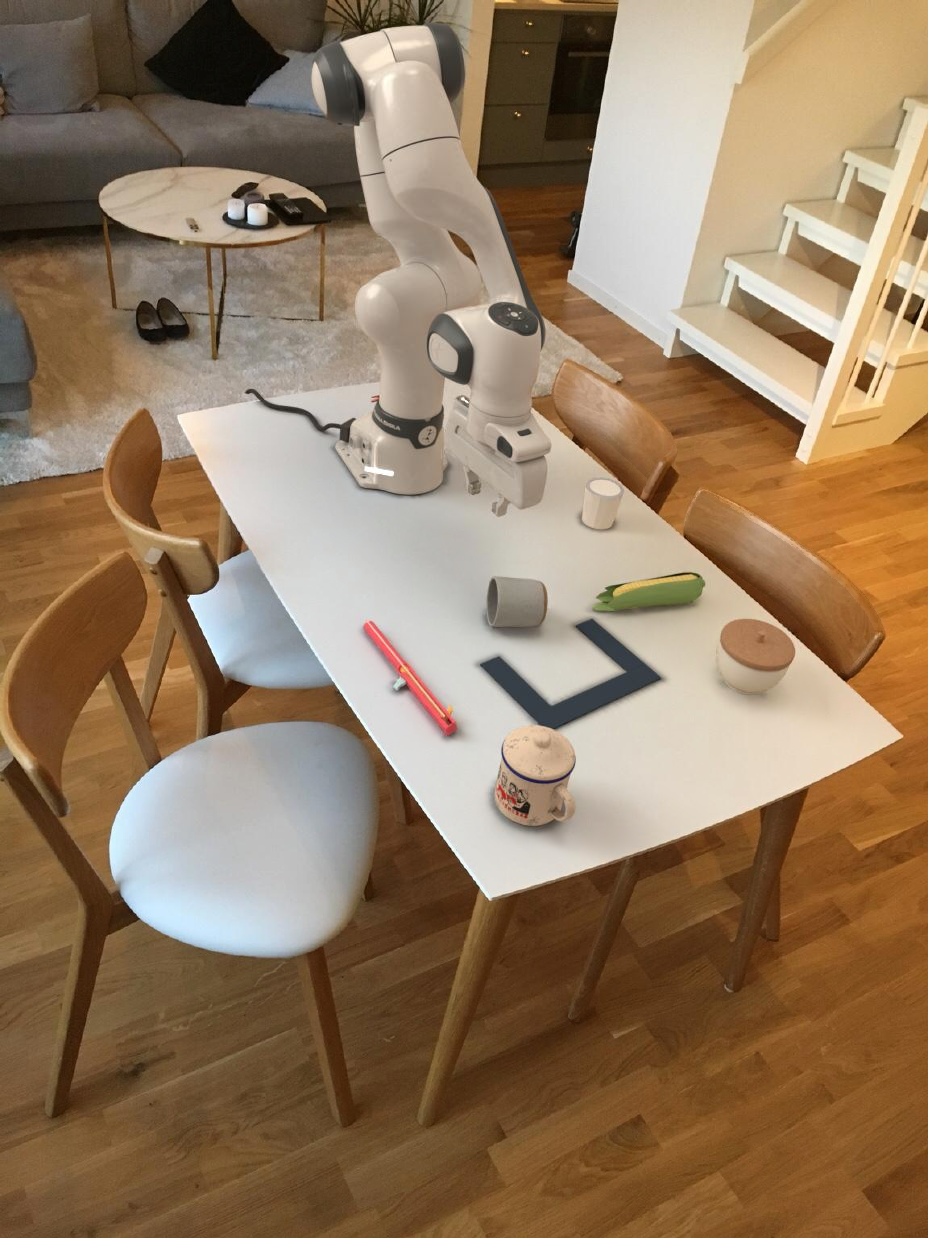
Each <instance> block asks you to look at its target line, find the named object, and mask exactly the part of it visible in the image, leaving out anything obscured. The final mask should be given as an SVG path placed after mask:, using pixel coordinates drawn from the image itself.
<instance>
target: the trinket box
mask: <svg viewBox="0 0 928 1238" xmlns="http://www.w3.org/2000/svg"><path fill="white" fill-rule="evenodd" d="M720 632H721V633H720V636H719V640H718V644H717V648H716V655H715V660H716V662H715V663H716V668H717V671H718V673H719V675H720V676H721V678H722V679H723V681H724V683H725V684H726V686H728V687H729V689H731V690H732V691H734V692H736V693H738V694H742V695H748V696H749V695H751V696H752V695H758V694H760V693H764V692H767V691H769V690H771V689H772V688H774V687H776V686H777V685H778V684H779V683H780V682H781V681H782V679H783V678H784V677H785V675H786V674H787V672H788V670H789V668H790V666H791V664H792V663H793V661H794V659H795V656H796V647H795V644H794V642H793V640H792V639H791V638H790V637H789V636H788V634H787V633H786V632H784V631H783V630H782V629H780V628H779V627H777V626H775V625H773V624H771V623H769V622H767V621H764V620H759V619H755V618H738V619H734V620H731V621H729V622H727V623H726V624H725V625H724V626H723V628H722V630H721V631H720Z"/></svg>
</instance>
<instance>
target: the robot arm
mask: <svg viewBox="0 0 928 1238" xmlns="http://www.w3.org/2000/svg"><path fill="white" fill-rule="evenodd" d="M461 44H462V43H461V41H460V38H459V37H458V34H457V33H456V31H454V30H453V29H452V27H451V26H450V25H449V24H445V23H441V22H424V23H423V25H405V26H404V25H402V26H393V27H387V28H381V29H380V30H378V31H374V32H371V33H366V34H362V35H358V36H356V37H352V38H349V39H347V40H344V41H341V42H339V40H334V41H333V42H330V43H328V44H326V45H324V46H321V47H319V48H318V49H317V50H316V52H315V55H314V56H313V58H312V64H311V65H312V68H311V77H310V78H311V79H310V80H311V81H310V82H311V90H312V93H313V97H314V100H315V102H316V104H317V106H318V107H319V109H320V111H321V113H322V114H323V116H324V118H325V119H326V120H328V121H329V122H331V123H332V124H334V125H337V126H345V127H353V132H354V133H353V135H354V144H355V153H356V160H357V167H358V172H359V176H360V183H361V187H362V191H363V192H362V193H363V196H364V202H365V205H366V206H365V207H366V211H367V215H368V220H369V225H370V227H371V228H372V230H373V231H374V232H375V233H376V234H377V235H378V236H379V237H381V238H383V239H385V240H387V241H388V242H389V243H390V245H391V246H392V248H393V250H394V251H395V254H396V256H397V258H398V261H399V265H400V266H397V267H395V268H391V269H388V270H385V271H383V272H381V273H379V274H378V275H376V276H375V277H373V278H372V279H370V280H369V281H368V282H366V283H365V284H363V285H362V286H361V287H360V288H359V290H358V291H357V293H356V295H355V298H354V315H355V319H356V322H357V324H358V326H359V329H361V331H362V332H363V334H364V335H365V336H366V337H367V338H368V339H369V340H371V341H372V342H374V344H375V346H376V348H377V352H378V355H379V362H380V363H379V364H380V373H379V375H380V377H379V394H377V395H372V396H370V399H372V400H370V403H375V405H374V407H373V410H372V411H370V412H368V413H366V414H364V415H361V416H359V417H357V418H356V417H352V418H350V419H349V420H346V421H345V422H342V423H341V424H340V423H335V422H332V423H331V422H329V423H327V424H324V425H323V426H322V425H321V424H320V423H319V422H318V420H317V419H316V417H315V416H314V415H313V414H312V413H311V412H310V411H308V410H307V409H304V408H301V407H298V406H290V405H281V404H275V403H272V402H270V401H268V400H267V399H265V398H264V397H263V395H261V394H260V392H258V391H257V390H256V389H254V388H248V389H246V390H245V391H244V394H246V395H250V394H252V395H254V396H255V398H257V399H258V401H260V403H262V404H263V405H264V406H266V407H268V408H271V409H273V410H274V409H275V410H278V411H279V410H280V411H288V412H294V413H295V412H296V413H299V414H303V415H305V416H307V417H308V418H309V419H310V421H311V422H312V424H313V426H314V427H315V428H316V429H317V430H318V431H321V432H325V431H327V430H329V429H338V430H339V440H338V441H337V442H336V443H335V451H336V452H337V453H338V455H339V456H340V457H339V458H341V460H342V461H343V463H344V464H345V466H346V467H347V468H348V470H349V472H350V473H351V474H352V476H353V478H354V479H355V481H356V483H358V485H359V486H360V487H362V488H365V489H374V490H381V491H385V492H388V493H392V494H397V495H420V494H425V493H428V492H431V491H433V490H435V489H437V488H438V487H439V486H440V485H441V484H442V483H443V481H444V471H445V470H446V469H447V467H448V459H447V458H446V457H445V450H446V451H447V452H448V453H449V454H450V455H451V456H452V457H454V458H455V459H457V460H458V461H459V462H460V463H461V464H463V468H462V470H463V473H464V476H465V481H466V486H465V491H466V492H468V493H469V494H470V495H471V496H475V495H479V494H481V492H482V486H483V483H482V482H481V481H480V479H481V480H483V482H485V483H486V484H488V486H490V487H491V488H492V489H494V490H495V491H496V492H497V494H498V496H497V497H498V498H499V500H498V501H494V502H492V504H491V513H493V514H494V515H495V516H496V517H498V518H500V517H503V516H505V515H506V514H507V511H508V506H509V505H510V504H512V505H513V506H515V507H516V508H517V509H518V510H526V509H531V508H533V507H535V506H537V505H539V504H540V503H541V502H542V500H543V499H544V494H545V489H546V483H547V479H548V478H547V476H548V475H547V474H548V461H547V459H546V455H548V454H550V453H551V450H552V441H551V439H550V437H549V436H548V435H547V433H546V432H545V431H544V430H543V429H542V427H541V426H540V424H539V422H538V421H537V419H536V417H535V415H534V413H532V409H533V399H532V397H533V396H532V392H533V389H534V386H535V384H536V381H537V380H538V374H539V368H540V362H541V353H542V350H543V349H544V345H545V341H546V337H547V335H546V334H547V332H546V331H547V330H546V324H545V320H544V318H543V315H542V313H541V310H540V309H539V308H538V307H539V306H538V305H537V303H536V302H535V300H534V298H533V297H532V294H531V293H530V290H529V288H528V285H527V282H526V280H525V277H524V274H523V271H522V269H521V266H520V263H519V260H518V257H517V255H516V252H515V249H514V246H513V243H512V241H511V238H510V235H509V232H508V230H507V227H506V224H505V222H504V219H503V215H502V213H501V211H500V208H499V207H498V204H497V202H496V200H495V198H494V196H493V195H492V193H491V192H490V191H489V189H488V188H487V187H486V186H484V185H483V184H482V183H481V182H480V181H479V179H478V178H477V177H476V175H475V173H474V172H473V169H472V168H471V166H470V164H469V162H468V159H467V158H466V155H465V152H464V148H463V145H462V141H461V137H460V132H459V128H458V125H457V121H456V118H455V115H454V112H453V109H452V106H451V103H453V102H454V101H456V99H457V98H458V97H459V95H460V93H462V91H463V89H464V87H465V83H466V82H465V81H466V58H465V54H464V50H463V47H462V45H461ZM450 232H451V233H453V234H455V235H456V236H458V237H459V238H461V239H462V240H463V241H464V242H465V243H466V244H467V245H468V247H469V248H470V250H471V252H472V254H473V257H474V259H475V262H476V264H475V263H474V262H473V261H472V259H471V258H470V257H468V256H466V255H464V253H462V252H461V250H459V248H458V247H457V245H456V244H455V242H454V240H453V239H452V237H451V235H450ZM476 265H477V266H476ZM482 281H483V284H484V286H485V289H486V293H487V295H488V297H489V303H484V304H479V305H476V304H477V303H478V301H479V300H480V298H481V297H480V296H481V293H482ZM475 305H476V306H475ZM446 379H447V380H450V381H452V382H453V383H456V384H459V385H462V386H464V385H465V386H467V387H469V388H470V396H469V397H468V396H466V395H464V394H461V395H457V396H456V397H455V398H454V399H453V401H452V406H451V407H452V408H451V410H450V412H449V414H448V417H447V420H446V424H445V428H444V426H443V425H444V420H445V407H444V404H443V402H444V391H445V383H446ZM479 478H480V479H479Z"/></svg>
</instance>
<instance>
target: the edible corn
mask: <svg viewBox="0 0 928 1238" xmlns="http://www.w3.org/2000/svg"><path fill="white" fill-rule="evenodd" d="M705 587H706V580H705V579H703V576H702V575H701V574H699V573H696V572H692V571H683V572H679V573H672V574H667V575H663V576H662V575H661V576H656V577H652V578H645V579H640V580H635V581H629V582H622V583H617V584H611V585H607V586H605V587H604V590H606V591H603V592H600V593H599V594H598V595H597V596H595V599H596V600H598V601H599V602H598V603H596V604H594V605H593V606H592V607H591V609H592V610H596V611H620V610H621V611H622V610H628V609H636V608H637V609H639V608H640V609H641V608H652V607H668V606H677V605H678V606H679V605H686V604H690V603H694V602H695V601H696V600H698V599H699V598H700V597H701V596H702V593H703V590H704V588H705Z"/></svg>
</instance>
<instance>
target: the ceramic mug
mask: <svg viewBox="0 0 928 1238" xmlns="http://www.w3.org/2000/svg"><path fill="white" fill-rule="evenodd" d="M548 600H549V598H548V591H547V586H546V585H545V584H544V583H543V582H542V581H541V580H537V579H534V578H533V579H532V578H519V577H511V576H510V577H509V576H500V575H499V576H498V575H497V576H496V575H494V576H492V577H491V578H490V580H489V582H488V586H487V591H486V616H487V622H488V624H489V626H490V627H492V628H520V627H521V628H531V627H537V626H541V625H542V624H543V623H544V621H545V619H546V616H547V612H548V606H549V605H548V604H549V603H548V602H549V601H548Z"/></svg>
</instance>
